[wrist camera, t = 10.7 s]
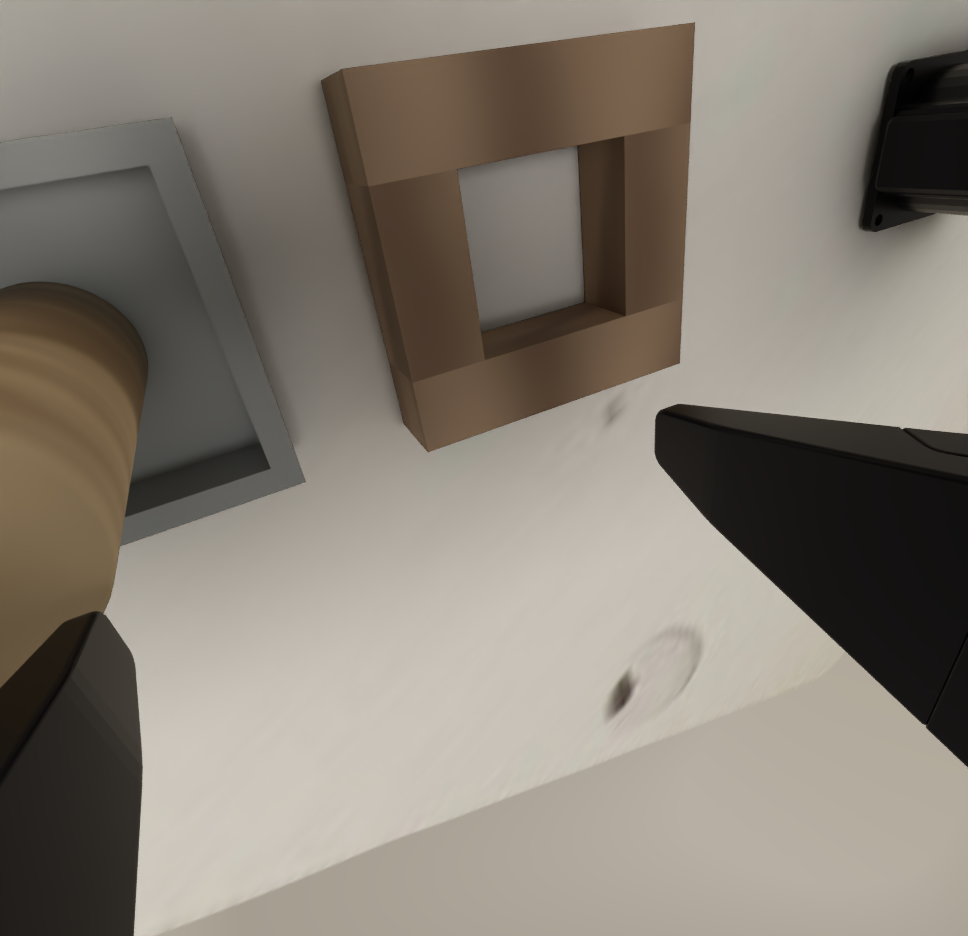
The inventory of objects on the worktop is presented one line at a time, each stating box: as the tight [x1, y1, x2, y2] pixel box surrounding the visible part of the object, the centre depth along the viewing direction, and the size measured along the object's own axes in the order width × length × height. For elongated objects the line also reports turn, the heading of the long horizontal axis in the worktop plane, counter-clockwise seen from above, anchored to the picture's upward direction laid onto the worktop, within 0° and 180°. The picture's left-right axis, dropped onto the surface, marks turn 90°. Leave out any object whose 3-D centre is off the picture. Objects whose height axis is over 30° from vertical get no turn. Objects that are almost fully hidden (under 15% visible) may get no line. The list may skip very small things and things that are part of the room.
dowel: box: [0, 281, 148, 688], centre depth 11 cm, size 4×4×10 cm
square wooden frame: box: [321, 23, 695, 452], centre depth 19 cm, size 10×10×2 cm
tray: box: [0, 117, 306, 546], centre depth 14 cm, size 10×10×2 cm
